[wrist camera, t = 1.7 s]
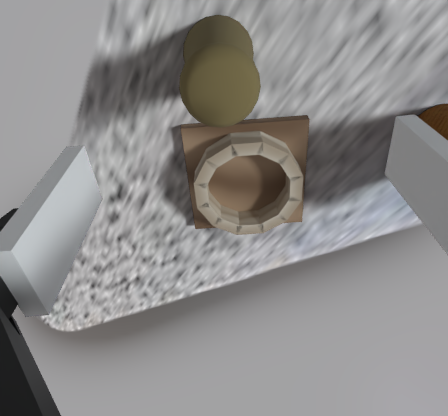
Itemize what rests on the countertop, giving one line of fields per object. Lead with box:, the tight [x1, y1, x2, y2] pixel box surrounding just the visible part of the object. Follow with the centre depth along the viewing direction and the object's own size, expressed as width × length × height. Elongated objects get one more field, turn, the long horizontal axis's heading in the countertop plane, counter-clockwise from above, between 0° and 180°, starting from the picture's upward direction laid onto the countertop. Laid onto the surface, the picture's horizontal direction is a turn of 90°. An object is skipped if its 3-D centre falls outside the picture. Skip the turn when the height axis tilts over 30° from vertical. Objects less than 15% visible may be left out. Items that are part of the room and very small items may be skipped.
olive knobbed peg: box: [179, 15, 261, 128], centre depth 26 cm, size 6×6×11 cm
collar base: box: [181, 115, 309, 235], centre depth 36 cm, size 12×12×4 cm
